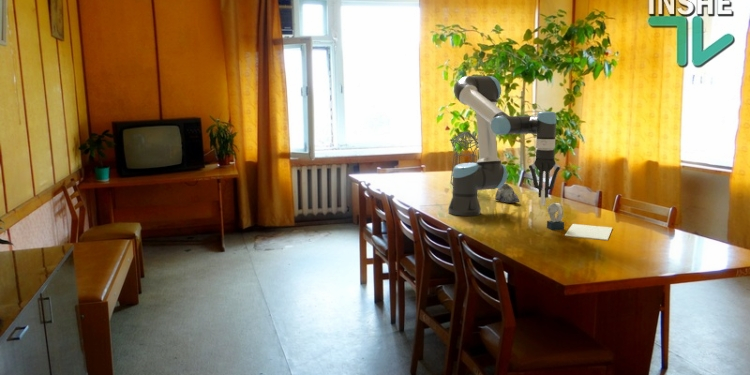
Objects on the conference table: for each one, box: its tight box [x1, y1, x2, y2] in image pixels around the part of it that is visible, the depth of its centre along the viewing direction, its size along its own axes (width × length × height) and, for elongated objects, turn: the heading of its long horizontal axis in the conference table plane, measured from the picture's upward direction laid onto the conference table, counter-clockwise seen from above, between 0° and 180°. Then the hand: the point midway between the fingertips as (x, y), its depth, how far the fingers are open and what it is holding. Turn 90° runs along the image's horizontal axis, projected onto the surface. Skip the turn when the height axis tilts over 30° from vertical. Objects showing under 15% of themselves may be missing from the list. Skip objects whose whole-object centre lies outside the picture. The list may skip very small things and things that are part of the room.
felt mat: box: [564, 223, 613, 241], centre depth 237 cm, size 16×22×1 cm
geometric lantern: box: [449, 131, 479, 187], centre depth 328 cm, size 16×16×35 cm
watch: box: [546, 202, 565, 231], centre depth 242 cm, size 6×8×11 cm
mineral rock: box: [494, 183, 521, 204], centre depth 300 cm, size 13×11×10 cm
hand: (543, 205), depth 244 cm, fingers closed
